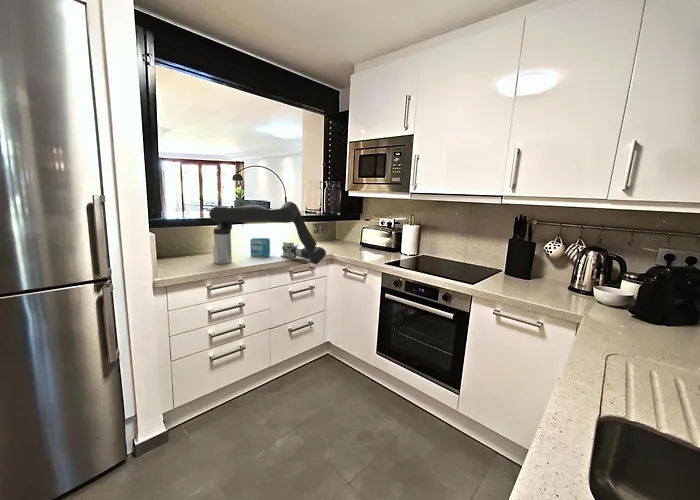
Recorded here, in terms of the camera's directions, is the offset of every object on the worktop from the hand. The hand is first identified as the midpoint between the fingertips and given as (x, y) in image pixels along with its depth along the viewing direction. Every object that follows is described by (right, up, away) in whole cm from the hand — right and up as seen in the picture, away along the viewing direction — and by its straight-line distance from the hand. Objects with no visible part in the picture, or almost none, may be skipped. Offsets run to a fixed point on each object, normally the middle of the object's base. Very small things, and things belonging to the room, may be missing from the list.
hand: (286, 247), depth 208 cm
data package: (-17, -6, 0) cm, 18 cm away
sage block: (+2, -6, -1) cm, 7 cm away
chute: (+2, -6, -1) cm, 7 cm away
